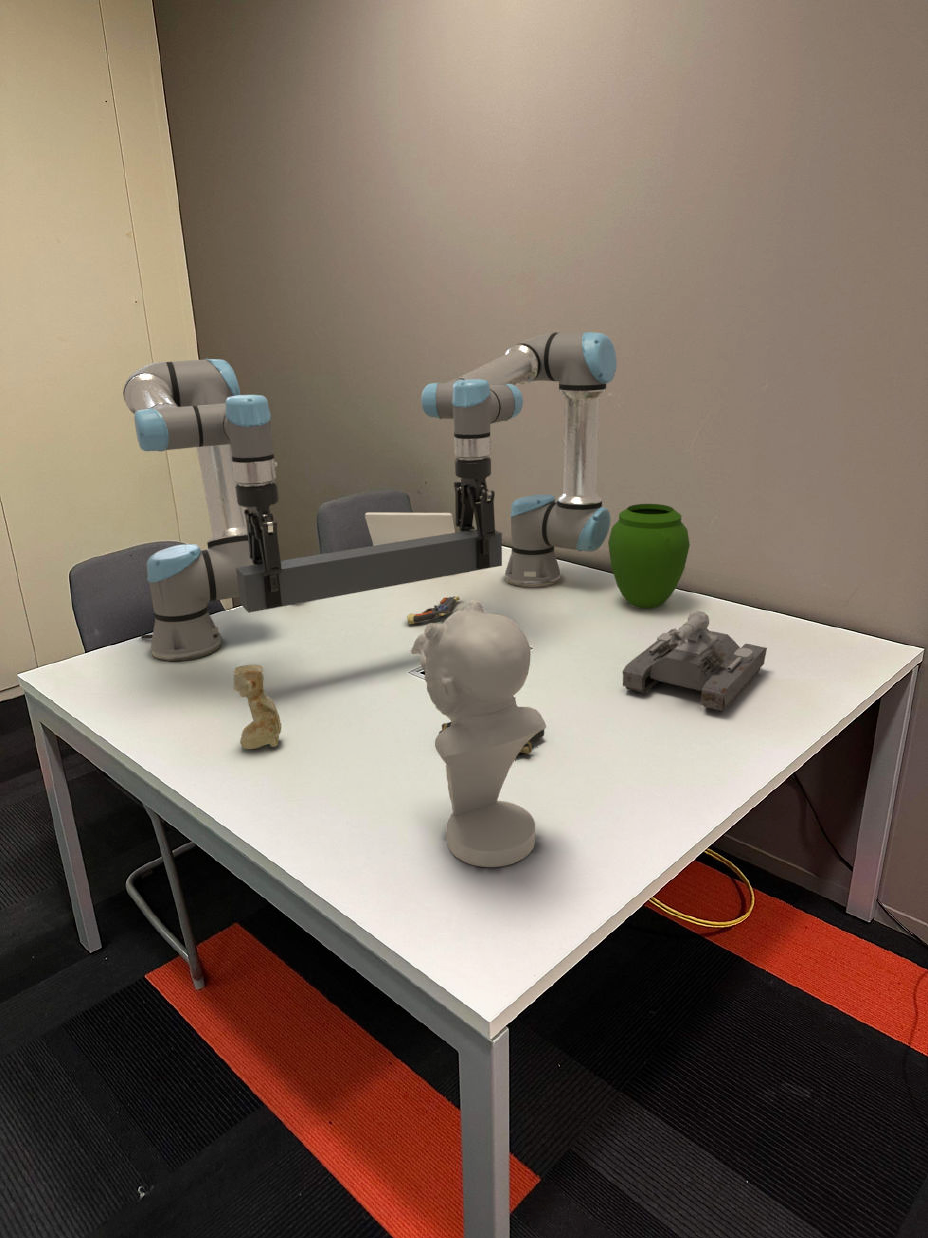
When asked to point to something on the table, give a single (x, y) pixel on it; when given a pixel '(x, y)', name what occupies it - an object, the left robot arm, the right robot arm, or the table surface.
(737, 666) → the toy
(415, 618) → the toy gun
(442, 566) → the bar
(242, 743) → the sculpture
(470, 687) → the bust sculpture
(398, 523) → the tablet stand
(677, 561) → the vase
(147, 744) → the table surface
